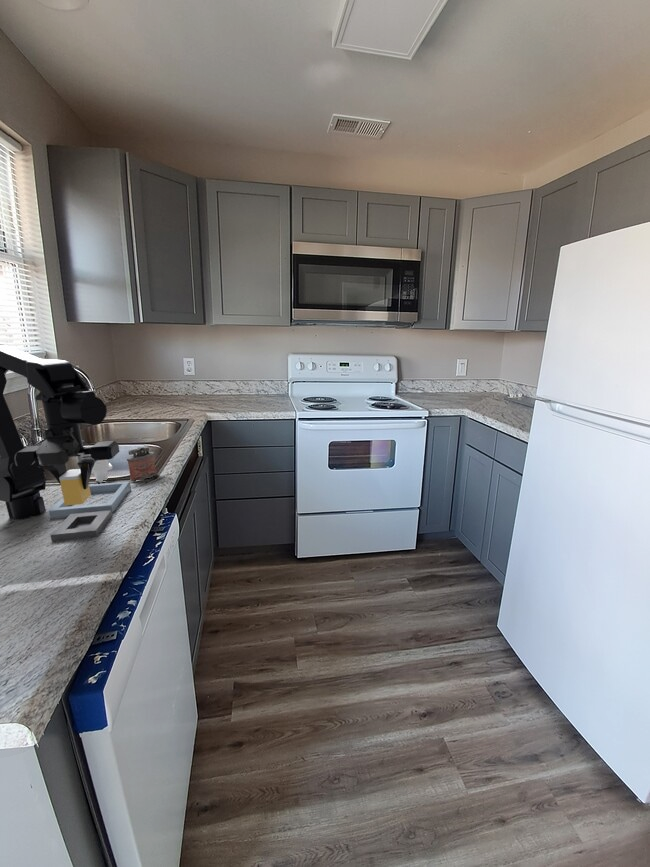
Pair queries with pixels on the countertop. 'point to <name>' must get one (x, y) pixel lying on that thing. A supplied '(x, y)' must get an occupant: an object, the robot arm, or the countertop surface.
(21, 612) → the countertop surface
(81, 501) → the yellow and white block
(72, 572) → the countertop surface
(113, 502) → the parts tray
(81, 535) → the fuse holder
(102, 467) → the pipe fitting
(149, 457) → the lighter
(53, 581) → the countertop surface
